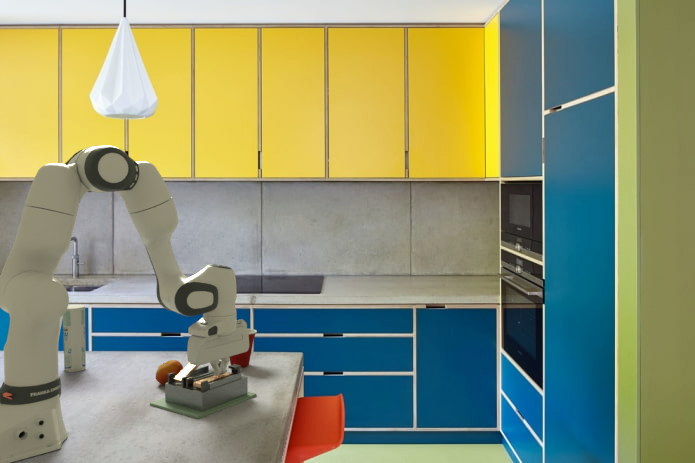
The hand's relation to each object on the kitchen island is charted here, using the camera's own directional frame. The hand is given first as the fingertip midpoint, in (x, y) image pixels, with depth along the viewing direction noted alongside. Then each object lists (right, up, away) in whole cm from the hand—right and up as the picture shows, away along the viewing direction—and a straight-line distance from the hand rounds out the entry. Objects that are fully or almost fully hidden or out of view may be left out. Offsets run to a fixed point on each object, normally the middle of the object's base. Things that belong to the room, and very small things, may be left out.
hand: (219, 374), depth 175 cm
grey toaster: (-4, -7, +1) cm, 8 cm away
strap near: (-1, -1, -2) cm, 3 cm away
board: (-4, -7, +1) cm, 8 cm away
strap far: (-7, +2, +1) cm, 8 cm away
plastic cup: (0, -5, +36) cm, 36 cm away
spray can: (-52, -5, +30) cm, 60 cm away
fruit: (-18, -6, +16) cm, 25 cm away
